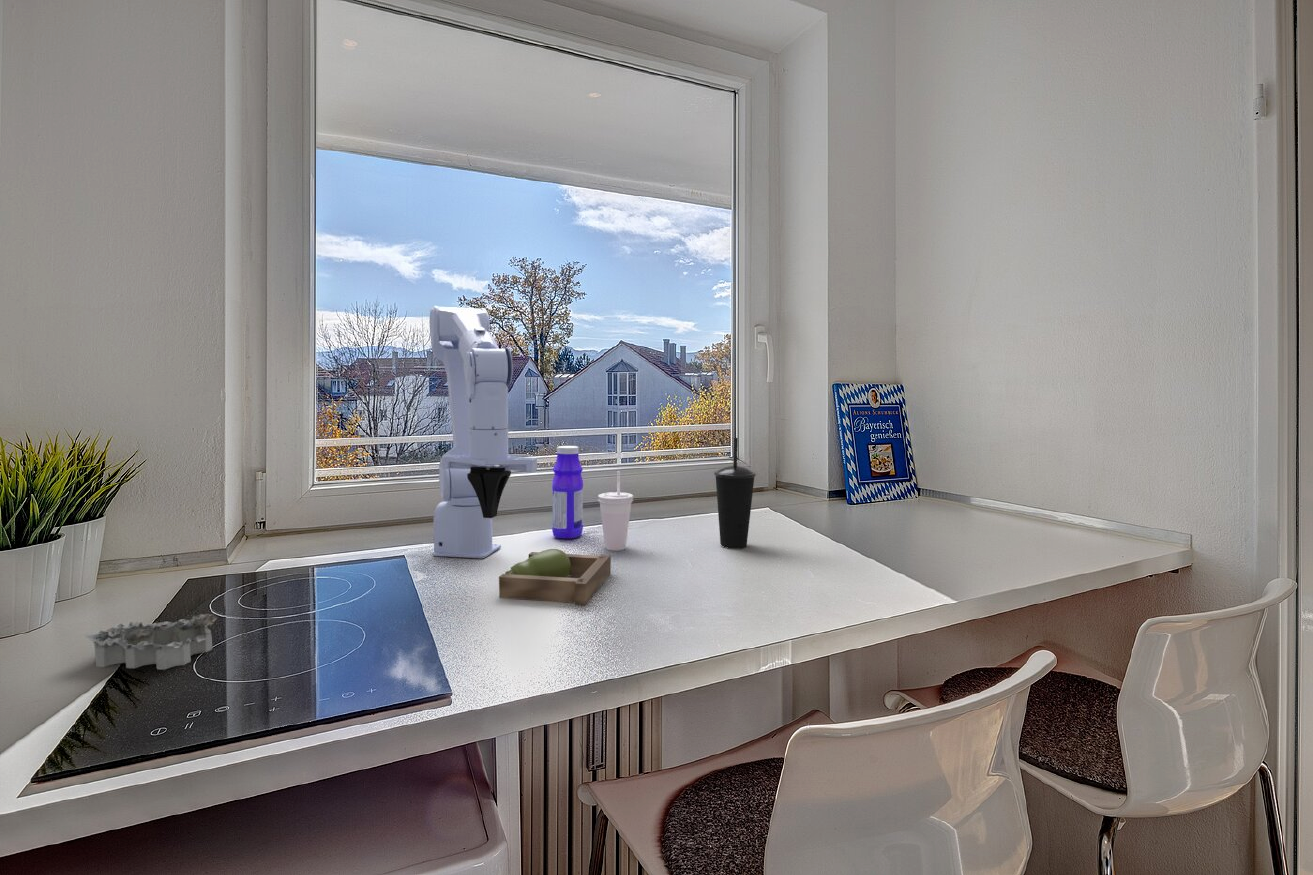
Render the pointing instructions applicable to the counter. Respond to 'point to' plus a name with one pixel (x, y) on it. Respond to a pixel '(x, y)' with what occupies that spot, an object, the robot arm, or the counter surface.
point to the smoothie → (615, 517)
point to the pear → (544, 564)
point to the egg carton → (154, 643)
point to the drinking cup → (734, 502)
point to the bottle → (567, 494)
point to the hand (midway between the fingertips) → (490, 516)
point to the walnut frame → (560, 581)
